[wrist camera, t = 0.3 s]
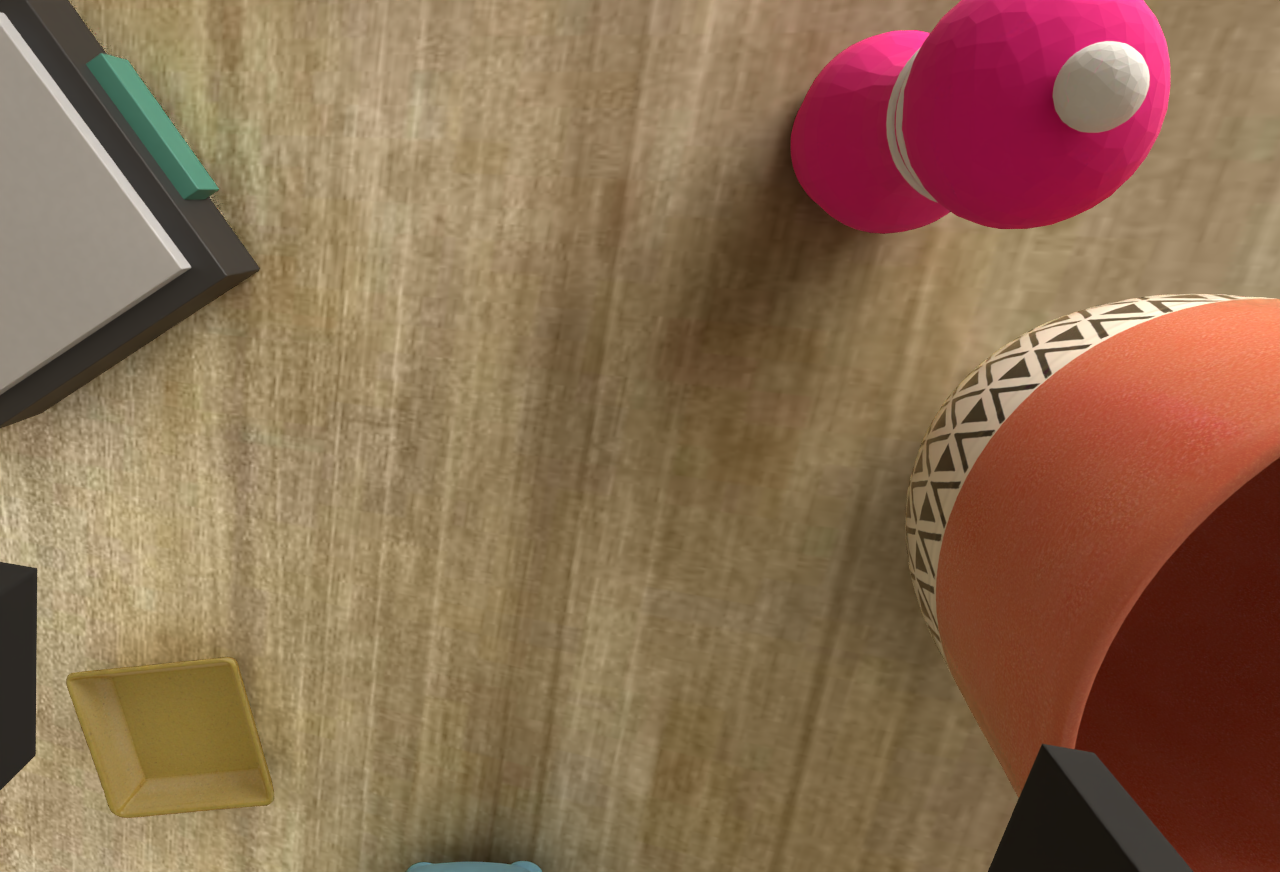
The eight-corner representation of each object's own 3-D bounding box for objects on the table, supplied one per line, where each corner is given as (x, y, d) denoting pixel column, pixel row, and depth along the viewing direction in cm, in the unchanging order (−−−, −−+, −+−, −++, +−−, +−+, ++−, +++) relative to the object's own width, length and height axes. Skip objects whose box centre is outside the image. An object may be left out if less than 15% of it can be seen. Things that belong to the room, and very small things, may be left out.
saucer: (134, 793, 45) (111, 821, 43) (87, 652, 42) (60, 675, 40) (291, 778, 45) (275, 805, 43) (253, 635, 42) (234, 657, 40)
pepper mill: (949, 216, 37) (1295, 240, 17) (786, 240, 37) (948, 290, 18) (942, 38, 35) (1325, -157, 15) (770, 65, 35) (933, -94, 16)
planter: (763, 531, 41) (894, 875, 20) (1005, 172, 36) (1496, 142, 15) (1075, 704, 44) (1470, 1160, 23) (1337, 391, 39) (2125, 613, 18)
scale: (78, -19, 34) (6, -47, 30) (275, 260, 37) (233, 267, 33) (-167, 163, 36) (-263, 159, 32) (41, 413, 39) (-24, 437, 35)
